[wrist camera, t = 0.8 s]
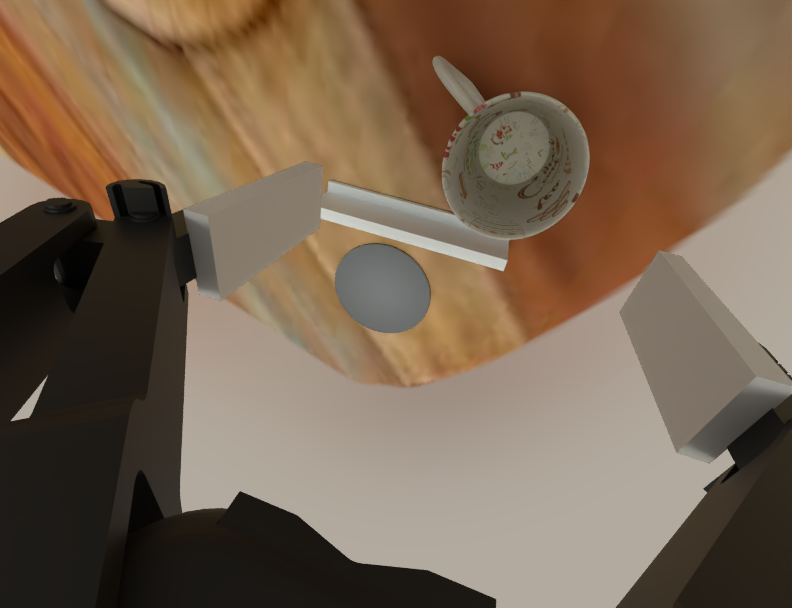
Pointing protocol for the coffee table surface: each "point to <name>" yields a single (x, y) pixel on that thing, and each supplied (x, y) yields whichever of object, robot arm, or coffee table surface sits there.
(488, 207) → the mug
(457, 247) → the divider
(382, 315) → the coaster
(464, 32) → the coffee table surface
